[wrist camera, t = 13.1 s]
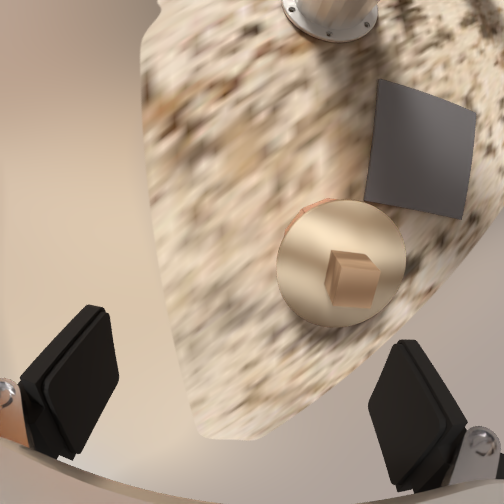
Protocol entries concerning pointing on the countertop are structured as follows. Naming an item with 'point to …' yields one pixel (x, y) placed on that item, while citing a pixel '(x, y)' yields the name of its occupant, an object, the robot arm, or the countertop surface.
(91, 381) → the robot arm
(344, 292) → the lid
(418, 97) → the mat
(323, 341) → the countertop surface
